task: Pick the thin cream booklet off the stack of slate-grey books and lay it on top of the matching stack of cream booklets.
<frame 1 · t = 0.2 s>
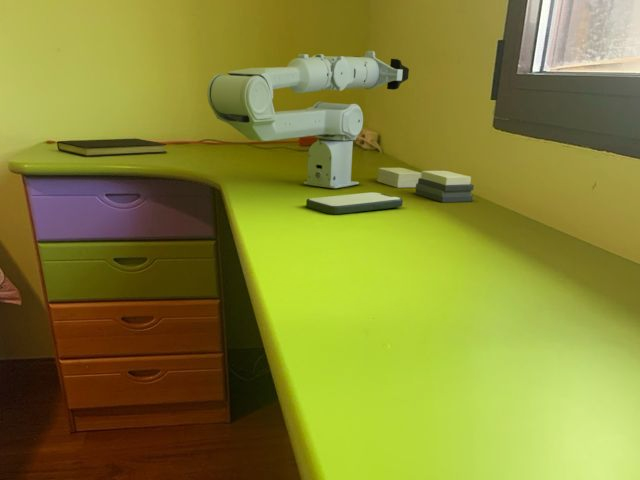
hand: (392, 72, 149), 21 cm above the table, tool horizontal, fingers open, 7 cm apart
grey book stack: (443, 197, 135), on the table
cream booklet: (444, 181, 134), point 3 cm above the table, touching grey book stack
hardcover book: (112, 152, 183), on the table
cream book stack: (398, 184, 149), on the table
phone case: (354, 208, 121), on the table
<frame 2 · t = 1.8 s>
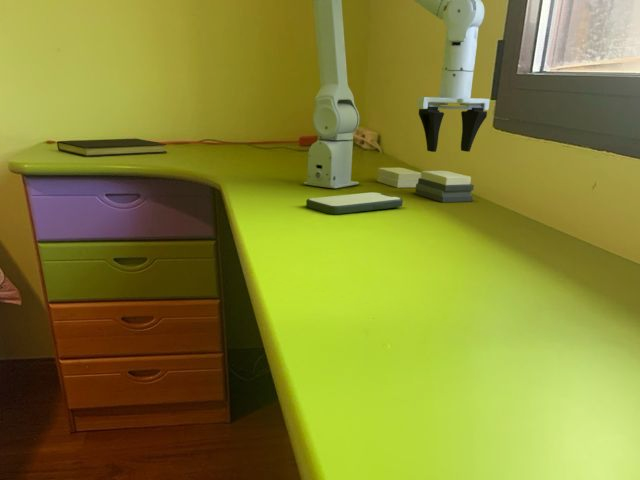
hand: (448, 151, 131), 8 cm above the table, tool pointing down, fingers open, 7 cm apart
nothing on the table moved.
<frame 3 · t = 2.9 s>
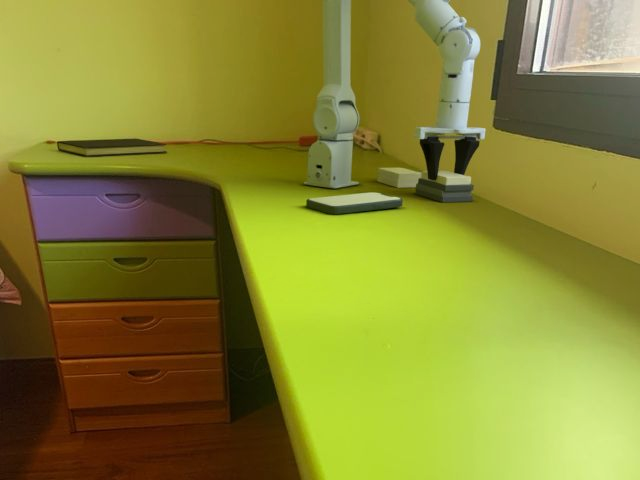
hand: (445, 179, 134), 3 cm above the table, tool pointing down, fingers closed on cream booklet, 5 cm apart
cream booklet: (445, 181, 134), point 3 cm above the table, touching grey book stack, gripper
everything else where it was.
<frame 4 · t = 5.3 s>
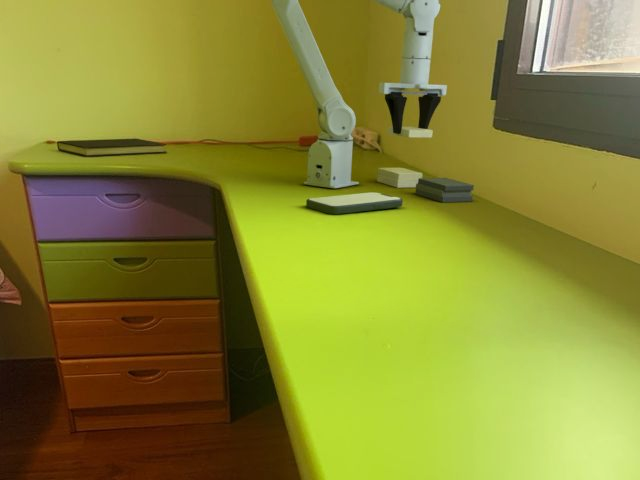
hand: (409, 133, 143), 10 cm above the table, tool pointing down, fingers closed on cream booklet, 5 cm apart
cream booklet: (409, 135, 143), point 10 cm above the table, touching gripper
everything else where it was.
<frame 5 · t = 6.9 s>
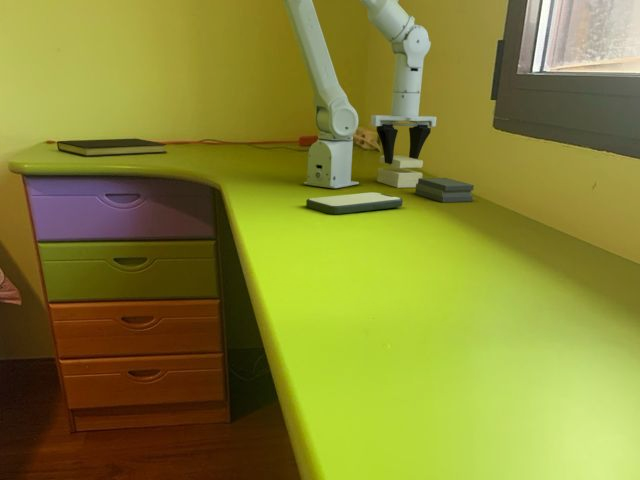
hand: (400, 163, 147), 4 cm above the table, tool pointing down, fingers closed on cream booklet, 5 cm apart
cream booklet: (400, 165, 148), point 4 cm above the table, touching gripper
everything else where it was.
when the fingers open (3 cm above the table, at t = 7.8 s): cream booklet stays where it is, resting on cream book stack.
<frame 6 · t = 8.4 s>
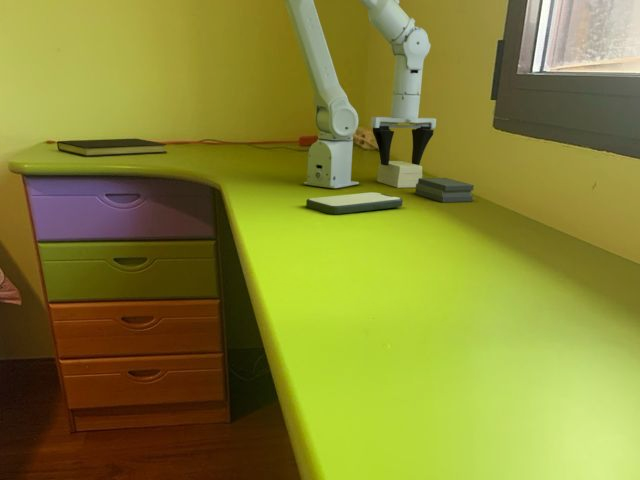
hand: (400, 164, 148), 4 cm above the table, tool pointing down, fingers open, 7 cm apart
cream booklet: (400, 170, 148), point 3 cm above the table, touching cream book stack
everything else where it was.
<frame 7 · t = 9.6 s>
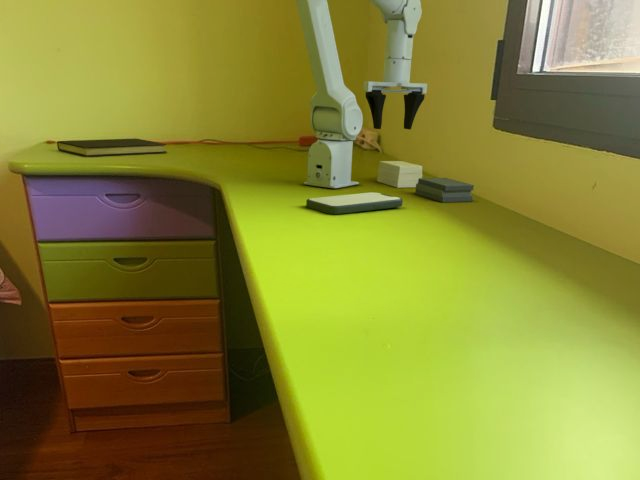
hand: (392, 129, 152), 10 cm above the table, tool pointing down, fingers open, 7 cm apart
nothing on the table moved.
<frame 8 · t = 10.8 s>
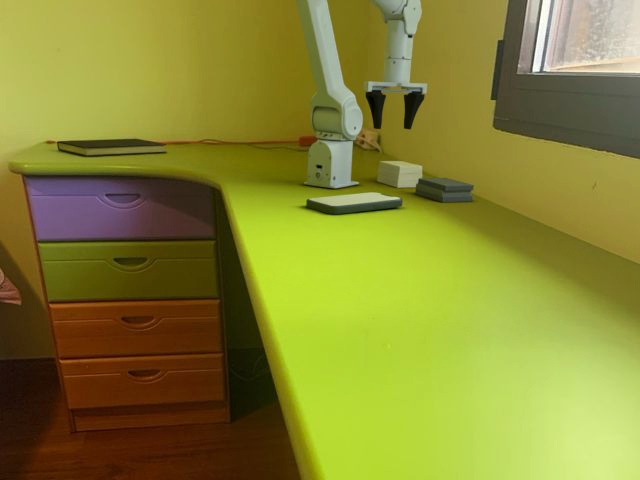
hand: (392, 129, 152), 10 cm above the table, tool pointing down, fingers open, 7 cm apart
nothing on the table moved.
at the end: cream booklet 0.1 cm off-centre on the cream book stack, point 2.8 cm above the cream book stack's base; cream booklet tilted 0°; the gripper is holding nothing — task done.
